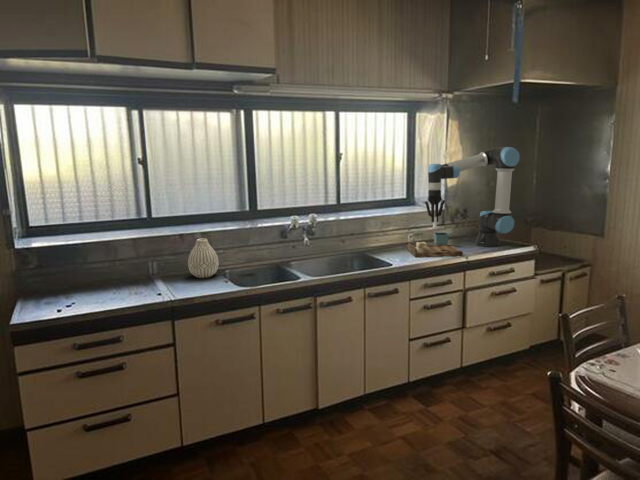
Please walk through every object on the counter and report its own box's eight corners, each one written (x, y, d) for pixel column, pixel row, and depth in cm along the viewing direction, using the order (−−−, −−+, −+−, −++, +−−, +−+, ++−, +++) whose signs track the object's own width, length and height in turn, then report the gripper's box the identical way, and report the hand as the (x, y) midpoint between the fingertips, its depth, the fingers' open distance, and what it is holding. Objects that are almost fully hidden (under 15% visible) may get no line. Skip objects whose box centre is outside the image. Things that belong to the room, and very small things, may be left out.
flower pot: (449, 248, 320) (449, 234, 318) (435, 248, 320) (435, 234, 318) (445, 245, 329) (446, 232, 327) (432, 245, 329) (433, 232, 327)
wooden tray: (451, 249, 316) (452, 241, 315) (462, 256, 296) (462, 248, 295) (407, 250, 314) (407, 243, 313) (415, 257, 295) (415, 249, 294)
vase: (182, 277, 258) (180, 240, 255) (206, 270, 271) (204, 235, 267) (201, 281, 248) (198, 243, 245) (225, 275, 261) (223, 238, 257)
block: (424, 249, 304) (424, 241, 303) (426, 251, 300) (426, 243, 299) (416, 249, 304) (416, 242, 303) (418, 251, 299) (418, 243, 298)
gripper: (443, 188, 302) (443, 225, 307) (422, 189, 301) (422, 226, 306) (447, 189, 295) (447, 227, 299) (425, 190, 294) (426, 228, 299)
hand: (434, 227), depth 303 cm, fingers closed
